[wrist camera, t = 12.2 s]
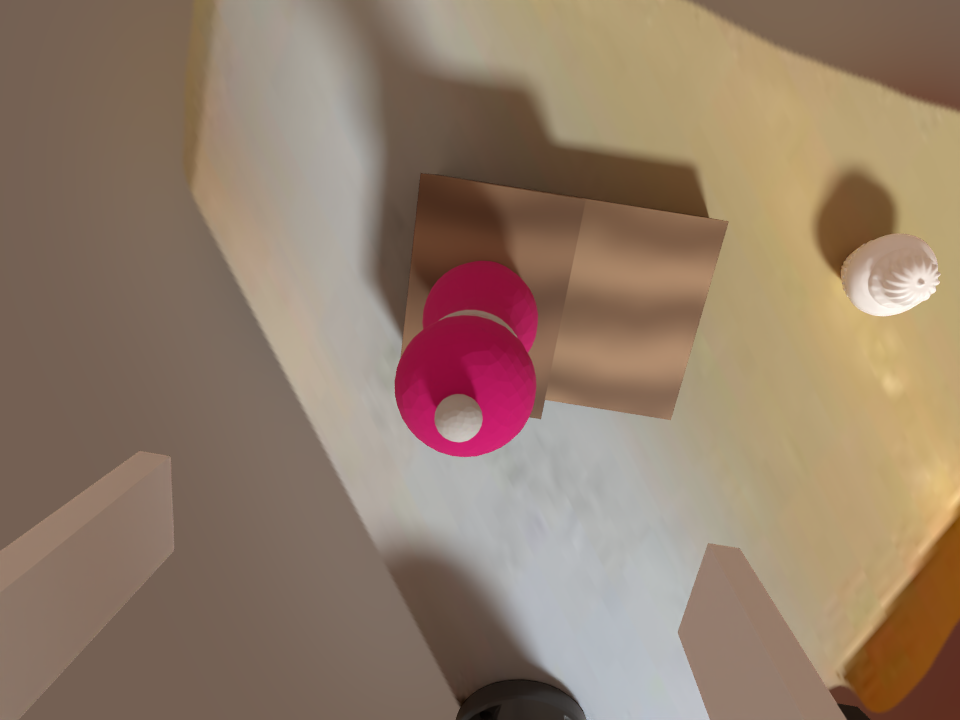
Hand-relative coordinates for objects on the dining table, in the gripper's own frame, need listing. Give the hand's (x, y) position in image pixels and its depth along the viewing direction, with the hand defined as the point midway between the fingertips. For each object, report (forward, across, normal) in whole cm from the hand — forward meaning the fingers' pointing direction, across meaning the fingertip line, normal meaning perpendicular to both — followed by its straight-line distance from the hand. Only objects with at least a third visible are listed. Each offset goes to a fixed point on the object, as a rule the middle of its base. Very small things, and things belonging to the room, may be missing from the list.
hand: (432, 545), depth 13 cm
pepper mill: (+26, 0, 0) cm, 26 cm away
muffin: (+34, -30, -6) cm, 46 cm away
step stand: (+34, -6, 0) cm, 35 cm away
